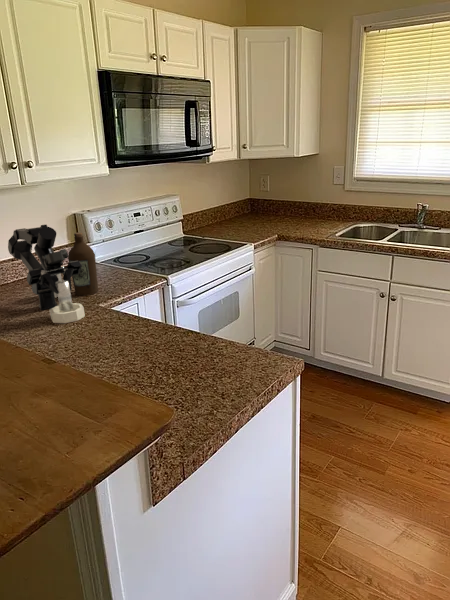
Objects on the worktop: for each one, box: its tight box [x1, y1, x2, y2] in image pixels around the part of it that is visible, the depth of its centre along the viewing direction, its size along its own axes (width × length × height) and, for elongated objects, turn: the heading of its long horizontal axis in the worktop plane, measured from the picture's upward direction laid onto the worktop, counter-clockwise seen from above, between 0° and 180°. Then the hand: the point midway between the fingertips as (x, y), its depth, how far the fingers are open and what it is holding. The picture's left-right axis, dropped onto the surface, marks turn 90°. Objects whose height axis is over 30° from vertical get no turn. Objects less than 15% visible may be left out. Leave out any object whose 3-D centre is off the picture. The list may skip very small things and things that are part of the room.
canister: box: [56, 279, 73, 311], centre depth 169 cm, size 4×4×10 cm
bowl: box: [49, 302, 86, 324], centre depth 171 cm, size 11×11×4 cm
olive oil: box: [67, 232, 99, 296], centre depth 197 cm, size 11×11×25 cm
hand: (64, 291), depth 168 cm, fingers closed on canister, 4 cm apart
